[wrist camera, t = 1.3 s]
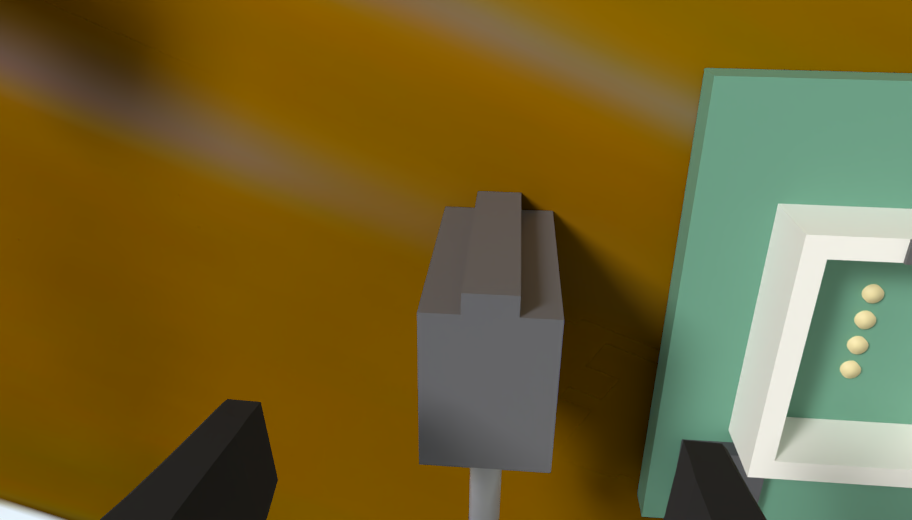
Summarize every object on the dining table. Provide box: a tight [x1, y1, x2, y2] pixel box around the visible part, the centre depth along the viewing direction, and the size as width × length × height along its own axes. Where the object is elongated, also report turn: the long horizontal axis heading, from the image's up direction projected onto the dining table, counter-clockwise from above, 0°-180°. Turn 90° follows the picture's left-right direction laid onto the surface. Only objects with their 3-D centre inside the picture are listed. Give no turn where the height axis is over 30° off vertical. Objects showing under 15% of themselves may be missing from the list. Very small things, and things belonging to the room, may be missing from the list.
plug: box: [417, 191, 564, 520], centre depth 19 cm, size 8×3×6 cm, turn 179°
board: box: [637, 68, 912, 520], centre depth 19 cm, size 14×10×3 cm
